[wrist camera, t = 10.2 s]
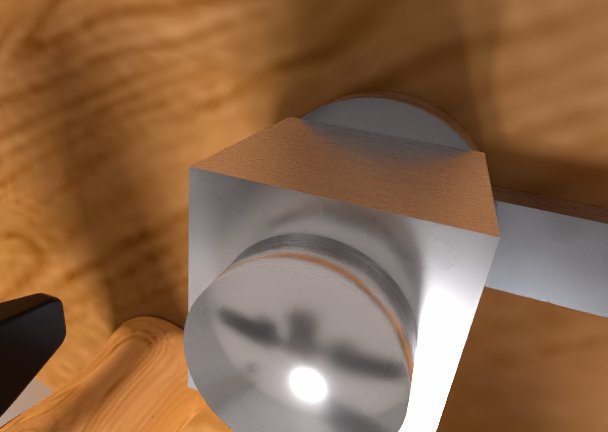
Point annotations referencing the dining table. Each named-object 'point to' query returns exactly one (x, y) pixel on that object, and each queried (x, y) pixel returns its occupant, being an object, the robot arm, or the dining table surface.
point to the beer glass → (123, 387)
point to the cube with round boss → (334, 277)
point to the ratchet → (502, 209)
